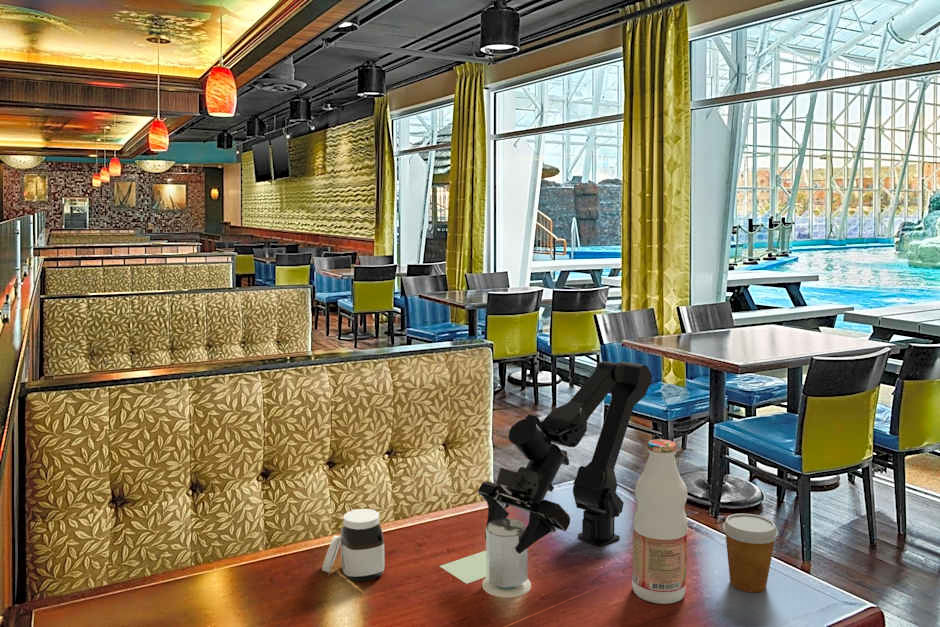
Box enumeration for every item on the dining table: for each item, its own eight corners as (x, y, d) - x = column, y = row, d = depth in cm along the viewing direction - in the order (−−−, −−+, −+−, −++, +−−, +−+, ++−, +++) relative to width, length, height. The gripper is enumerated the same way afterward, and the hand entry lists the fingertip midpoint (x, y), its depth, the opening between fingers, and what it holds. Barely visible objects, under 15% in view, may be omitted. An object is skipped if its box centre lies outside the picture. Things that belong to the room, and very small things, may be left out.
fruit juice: (621, 589, 138) (623, 441, 134) (655, 575, 143) (658, 432, 140) (661, 611, 130) (665, 454, 127) (696, 594, 136) (701, 444, 132)
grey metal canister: (501, 565, 144) (500, 508, 143) (533, 575, 140) (533, 517, 139) (480, 580, 138) (479, 521, 137) (512, 590, 134) (512, 530, 133)
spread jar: (389, 581, 142) (388, 521, 141) (330, 592, 138) (328, 531, 136) (372, 555, 153) (371, 500, 152) (317, 565, 149) (315, 508, 147)
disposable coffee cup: (774, 576, 142) (776, 515, 141) (776, 600, 134) (779, 536, 132) (721, 569, 146) (723, 509, 144) (720, 592, 137) (722, 529, 135)
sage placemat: (499, 547, 156) (499, 545, 156) (527, 562, 149) (527, 561, 149) (439, 567, 147) (439, 566, 147) (466, 585, 140) (466, 583, 140)
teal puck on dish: (509, 571, 146) (509, 555, 145) (541, 589, 138) (541, 572, 138) (472, 584, 140) (472, 568, 140) (503, 604, 133) (503, 587, 133)
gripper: (483, 440, 145) (443, 511, 139) (560, 461, 133) (520, 541, 126) (510, 469, 152) (473, 538, 146) (586, 492, 139) (549, 569, 133)
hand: (501, 546), depth 137 cm, fingers closed on grey metal canister, 7 cm apart
